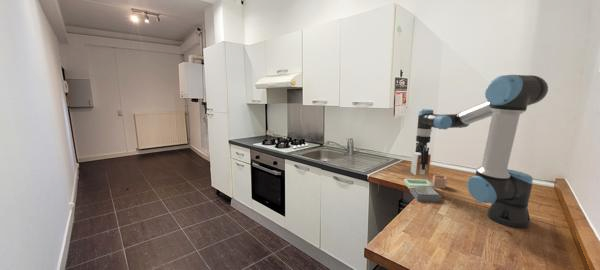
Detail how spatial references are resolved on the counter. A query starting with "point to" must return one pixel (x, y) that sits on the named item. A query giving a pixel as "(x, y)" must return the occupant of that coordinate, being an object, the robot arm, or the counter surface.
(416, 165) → the small box
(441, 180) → the cup
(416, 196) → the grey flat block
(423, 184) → the mint green tray
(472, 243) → the counter surface
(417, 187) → the grey flat square panel
